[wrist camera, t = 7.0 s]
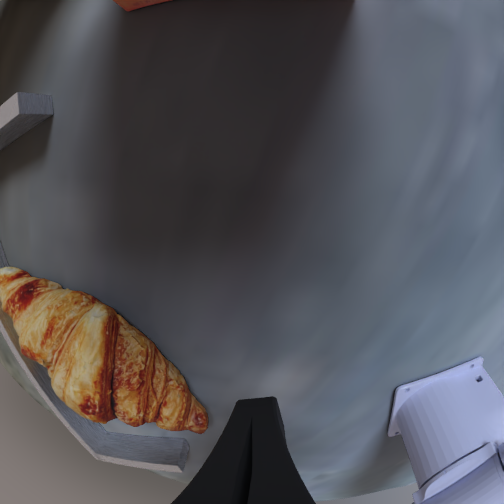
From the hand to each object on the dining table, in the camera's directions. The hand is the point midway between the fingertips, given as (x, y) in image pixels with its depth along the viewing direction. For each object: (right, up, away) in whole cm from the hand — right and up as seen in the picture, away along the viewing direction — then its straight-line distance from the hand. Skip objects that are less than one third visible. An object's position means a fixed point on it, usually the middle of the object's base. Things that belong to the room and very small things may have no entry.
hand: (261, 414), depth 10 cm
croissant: (-12, -1, +11) cm, 17 cm away
